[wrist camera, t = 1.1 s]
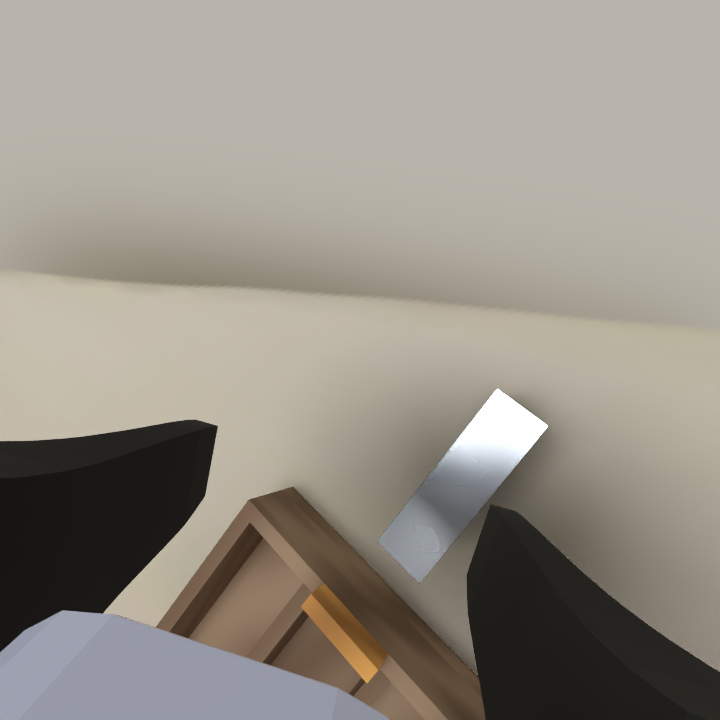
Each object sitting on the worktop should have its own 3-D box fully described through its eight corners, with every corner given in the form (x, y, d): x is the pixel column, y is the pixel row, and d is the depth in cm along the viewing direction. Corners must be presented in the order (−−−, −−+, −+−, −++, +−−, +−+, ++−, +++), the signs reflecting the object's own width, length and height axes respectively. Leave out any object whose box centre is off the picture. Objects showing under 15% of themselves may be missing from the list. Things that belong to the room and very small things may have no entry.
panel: (545, 423, 20) (548, 425, 15) (450, 539, 21) (419, 583, 16) (507, 395, 21) (497, 388, 15) (417, 509, 22) (376, 541, 16)
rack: (502, 703, 19) (491, 798, 15) (349, 874, 21) (294, 1011, 16) (292, 487, 24) (232, 504, 19) (180, 638, 26) (99, 689, 21)
